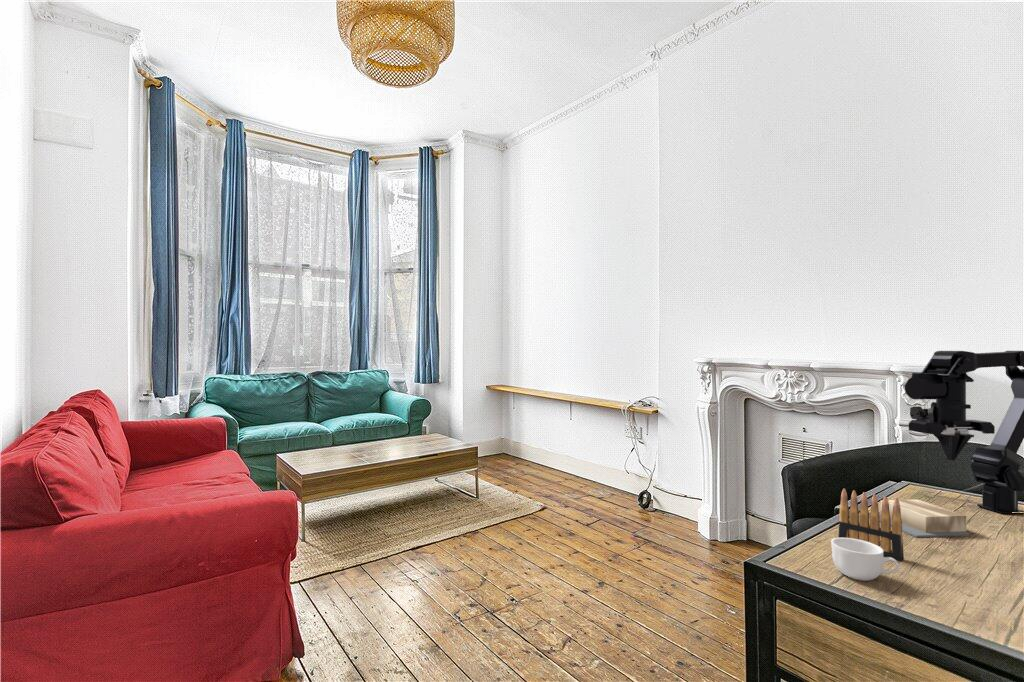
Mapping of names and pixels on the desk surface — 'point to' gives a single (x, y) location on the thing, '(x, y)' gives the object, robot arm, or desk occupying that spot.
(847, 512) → the ammunition clip
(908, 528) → the mat
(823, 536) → the desk surface
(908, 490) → the desk surface
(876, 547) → the teacup
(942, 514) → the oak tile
